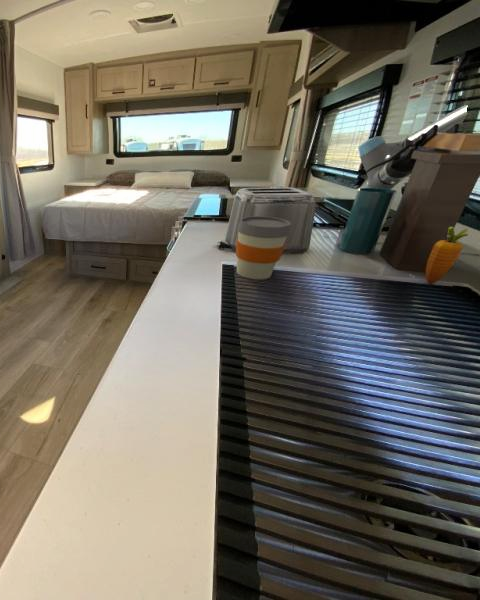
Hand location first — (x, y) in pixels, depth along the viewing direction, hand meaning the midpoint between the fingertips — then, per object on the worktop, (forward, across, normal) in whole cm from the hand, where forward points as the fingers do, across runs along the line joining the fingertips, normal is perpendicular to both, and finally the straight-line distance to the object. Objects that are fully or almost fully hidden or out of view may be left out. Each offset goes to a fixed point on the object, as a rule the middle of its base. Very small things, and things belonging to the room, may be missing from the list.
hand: (446, 129), depth 88 cm
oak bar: (0, 0, -5) cm, 5 cm away
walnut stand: (-11, 0, -34) cm, 36 cm away
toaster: (-14, +38, -33) cm, 52 cm away
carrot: (+3, 0, -43) cm, 43 cm away
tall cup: (-19, +10, -30) cm, 37 cm away
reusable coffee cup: (+8, +41, -46) cm, 62 cm away
